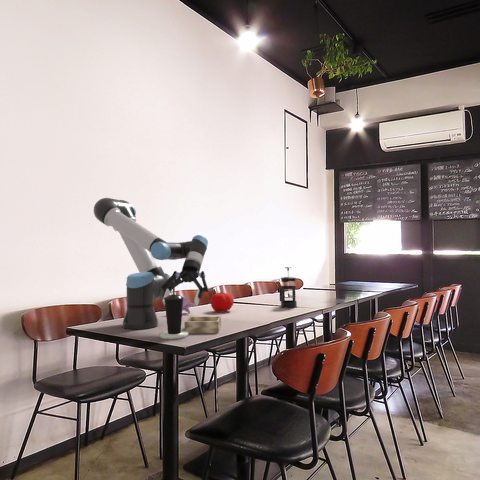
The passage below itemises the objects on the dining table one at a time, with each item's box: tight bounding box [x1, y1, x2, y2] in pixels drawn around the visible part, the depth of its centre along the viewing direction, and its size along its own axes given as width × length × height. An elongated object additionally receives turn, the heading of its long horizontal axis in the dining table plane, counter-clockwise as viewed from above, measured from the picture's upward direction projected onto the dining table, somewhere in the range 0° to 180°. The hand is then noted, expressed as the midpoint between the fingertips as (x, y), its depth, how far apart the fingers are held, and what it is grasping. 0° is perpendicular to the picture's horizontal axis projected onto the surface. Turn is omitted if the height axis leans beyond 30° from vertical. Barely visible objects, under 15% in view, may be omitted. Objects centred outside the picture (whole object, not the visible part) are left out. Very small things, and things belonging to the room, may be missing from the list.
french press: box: [279, 266, 298, 309], centre depth 240 cm, size 12×9×23 cm
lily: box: [182, 297, 196, 314], centre depth 217 cm, size 12×12×10 cm
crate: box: [184, 315, 222, 334], centre depth 172 cm, size 14×14×4 cm
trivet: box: [158, 330, 189, 340], centre depth 160 cm, size 11×11×1 cm
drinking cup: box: [164, 281, 185, 334], centre depth 160 cm, size 8×8×20 cm
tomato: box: [210, 291, 235, 313], centre depth 224 cm, size 13×12×11 cm
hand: (179, 303), depth 167 cm, fingers open, 13 cm apart
